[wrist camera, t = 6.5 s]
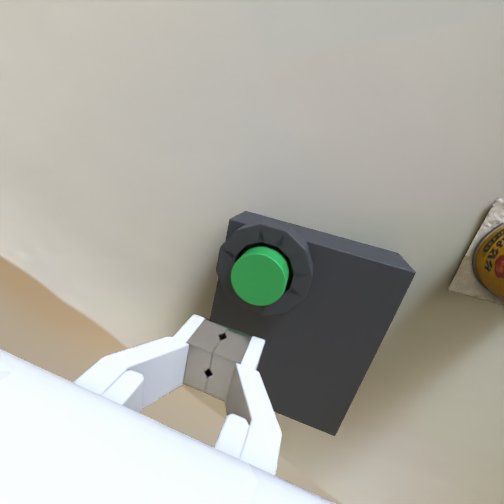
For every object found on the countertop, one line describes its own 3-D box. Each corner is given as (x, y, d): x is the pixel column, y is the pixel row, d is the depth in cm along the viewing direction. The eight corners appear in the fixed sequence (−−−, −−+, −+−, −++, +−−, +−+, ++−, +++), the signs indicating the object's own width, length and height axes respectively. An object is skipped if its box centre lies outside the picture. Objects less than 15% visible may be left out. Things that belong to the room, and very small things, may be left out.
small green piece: (244, 239, 17) (236, 246, 16) (295, 254, 17) (292, 263, 15) (233, 285, 19) (225, 296, 17) (281, 301, 18) (277, 313, 17)
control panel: (247, 202, 22) (222, 212, 17) (402, 244, 20) (432, 272, 15) (215, 351, 28) (189, 396, 23) (332, 396, 26) (335, 457, 21)
